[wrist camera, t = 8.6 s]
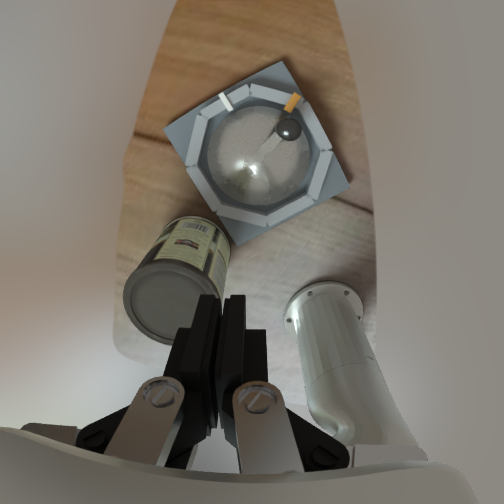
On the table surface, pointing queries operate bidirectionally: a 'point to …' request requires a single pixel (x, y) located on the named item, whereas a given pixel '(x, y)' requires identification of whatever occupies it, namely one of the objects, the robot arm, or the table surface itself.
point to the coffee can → (177, 277)
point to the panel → (248, 95)
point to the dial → (258, 155)
